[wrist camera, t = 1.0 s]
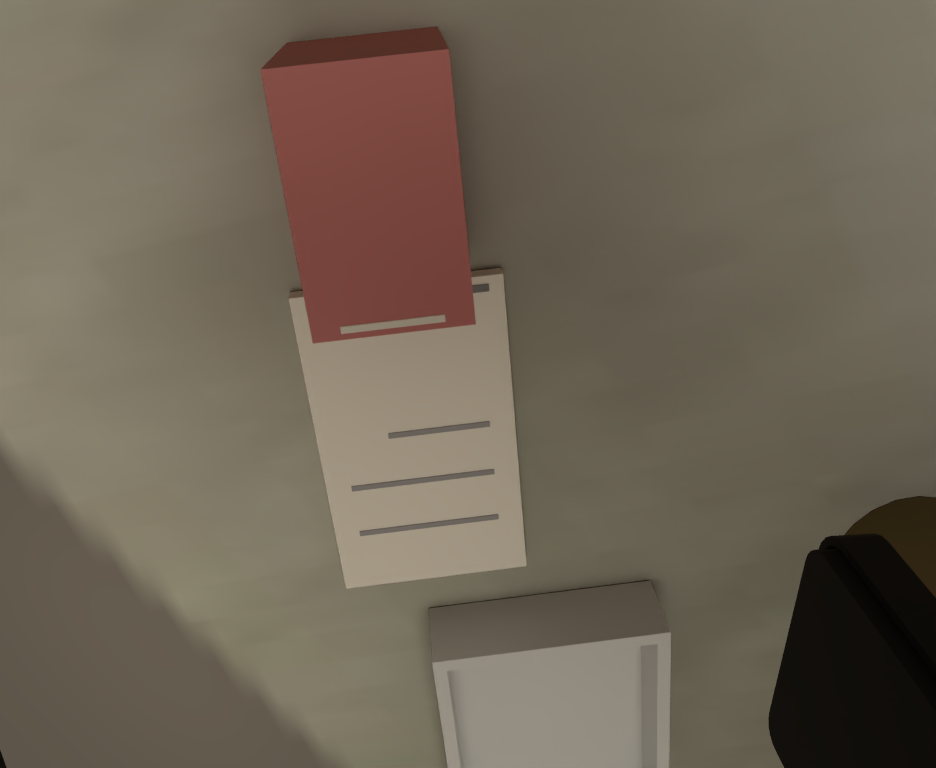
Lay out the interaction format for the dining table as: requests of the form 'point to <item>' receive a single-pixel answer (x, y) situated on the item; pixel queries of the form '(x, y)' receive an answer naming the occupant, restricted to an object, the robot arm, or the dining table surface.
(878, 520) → the cork
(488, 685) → the tray
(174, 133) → the dining table surface
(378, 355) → the ticket
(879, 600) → the robot arm
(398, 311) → the red block with stripe
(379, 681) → the dining table surface
